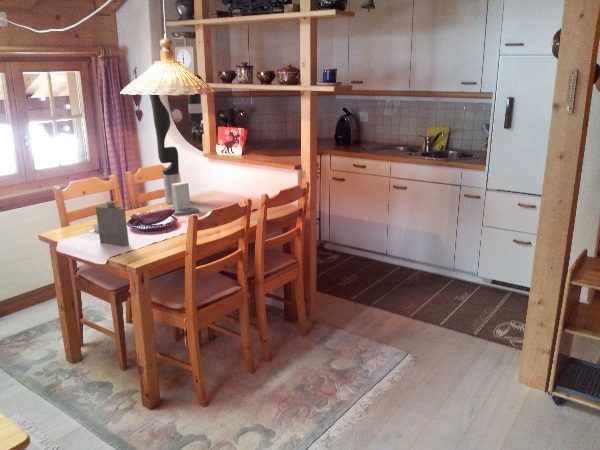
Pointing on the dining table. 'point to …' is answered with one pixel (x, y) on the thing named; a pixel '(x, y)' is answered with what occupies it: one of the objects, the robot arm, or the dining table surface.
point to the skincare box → (180, 195)
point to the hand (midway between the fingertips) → (197, 141)
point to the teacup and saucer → (94, 228)
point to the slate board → (184, 211)
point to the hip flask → (112, 224)
